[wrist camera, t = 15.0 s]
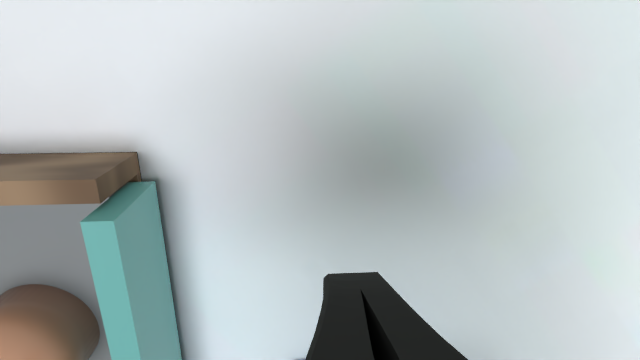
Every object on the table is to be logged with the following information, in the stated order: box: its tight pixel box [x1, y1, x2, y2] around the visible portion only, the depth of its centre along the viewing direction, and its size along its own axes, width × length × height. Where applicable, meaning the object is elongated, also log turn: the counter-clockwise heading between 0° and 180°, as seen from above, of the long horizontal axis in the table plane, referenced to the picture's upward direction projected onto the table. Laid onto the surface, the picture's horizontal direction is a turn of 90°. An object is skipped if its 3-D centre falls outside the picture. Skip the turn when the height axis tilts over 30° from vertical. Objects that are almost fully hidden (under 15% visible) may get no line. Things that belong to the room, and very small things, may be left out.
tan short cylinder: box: [0, 284, 100, 360], centre depth 17 cm, size 5×5×4 cm
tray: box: [0, 181, 182, 360], centre depth 18 cm, size 15×16×4 cm
